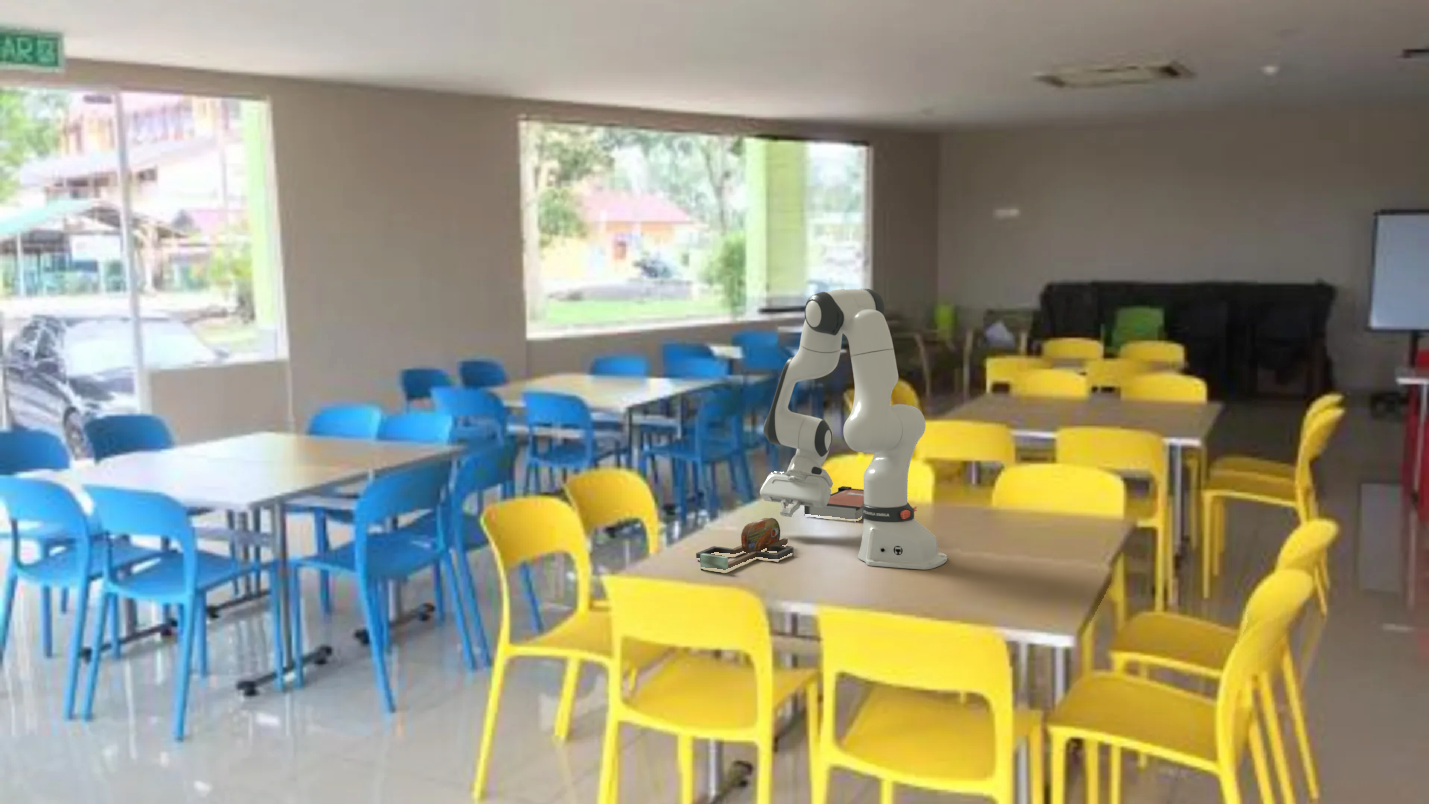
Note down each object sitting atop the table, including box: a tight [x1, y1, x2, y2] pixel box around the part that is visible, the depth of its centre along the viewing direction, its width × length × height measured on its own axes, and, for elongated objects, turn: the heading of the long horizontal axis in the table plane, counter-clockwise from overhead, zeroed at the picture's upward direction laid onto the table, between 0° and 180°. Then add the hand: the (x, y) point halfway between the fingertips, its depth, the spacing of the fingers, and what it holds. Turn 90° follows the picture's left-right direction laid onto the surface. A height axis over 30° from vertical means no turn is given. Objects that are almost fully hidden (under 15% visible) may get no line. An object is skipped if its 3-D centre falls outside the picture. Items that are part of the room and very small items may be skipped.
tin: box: [740, 517, 781, 554], centre depth 314 cm, size 15×3×8 cm, turn 143°
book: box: [803, 485, 864, 519], centre depth 359 cm, size 26×18×5 cm
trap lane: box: [695, 537, 794, 570], centre depth 308 cm, size 19×31×4 cm, turn 147°
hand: (785, 515), depth 325 cm, fingers closed
